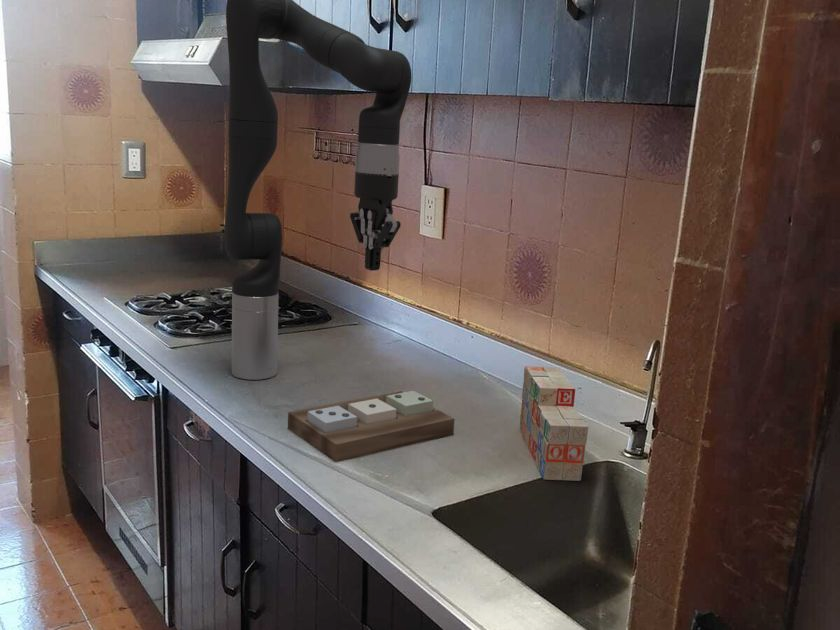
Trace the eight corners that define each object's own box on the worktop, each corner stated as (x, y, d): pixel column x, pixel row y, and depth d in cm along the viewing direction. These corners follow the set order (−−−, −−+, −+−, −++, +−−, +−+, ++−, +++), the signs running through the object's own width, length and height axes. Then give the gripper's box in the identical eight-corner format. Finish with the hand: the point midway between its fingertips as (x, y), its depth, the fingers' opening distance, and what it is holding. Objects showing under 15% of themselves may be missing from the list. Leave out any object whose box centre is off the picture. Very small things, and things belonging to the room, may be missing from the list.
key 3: (307, 429, 136) (307, 410, 135) (337, 423, 140) (338, 404, 139) (325, 441, 132) (325, 421, 131) (356, 434, 135) (357, 415, 134)
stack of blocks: (582, 482, 126) (590, 408, 123) (542, 481, 126) (550, 406, 123) (552, 430, 147) (559, 366, 144) (518, 429, 147) (524, 364, 144)
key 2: (385, 412, 146) (386, 394, 145) (412, 407, 149) (413, 389, 148) (404, 423, 141) (406, 405, 140) (432, 417, 145) (433, 399, 144)
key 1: (347, 421, 141) (348, 402, 140) (376, 415, 145) (377, 397, 144) (366, 432, 136) (367, 413, 136) (395, 426, 140) (396, 408, 139)
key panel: (287, 428, 140) (288, 412, 139) (400, 406, 154) (401, 391, 153) (335, 462, 128) (336, 444, 127) (453, 434, 142) (454, 418, 141)
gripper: (338, 167, 142) (334, 264, 146) (380, 173, 132) (375, 278, 136) (374, 167, 146) (369, 262, 150) (417, 174, 136) (411, 275, 140)
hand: (372, 269), depth 143 cm, fingers closed
